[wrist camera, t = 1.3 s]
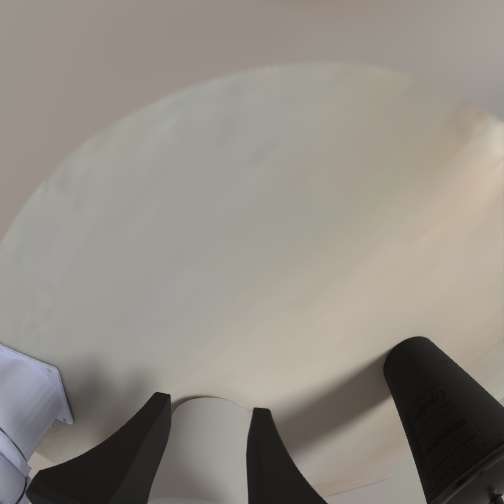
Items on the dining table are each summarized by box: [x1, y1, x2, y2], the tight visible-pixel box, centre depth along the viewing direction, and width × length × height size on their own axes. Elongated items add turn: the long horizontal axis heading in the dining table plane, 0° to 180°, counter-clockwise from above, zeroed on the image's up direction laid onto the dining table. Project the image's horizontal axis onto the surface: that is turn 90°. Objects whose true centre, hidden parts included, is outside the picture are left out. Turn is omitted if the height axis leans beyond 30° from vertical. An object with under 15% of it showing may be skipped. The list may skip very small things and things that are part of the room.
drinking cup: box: [384, 336, 504, 504], centre depth 12 cm, size 8×8×20 cm
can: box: [147, 397, 252, 504], centre depth 18 cm, size 8×8×12 cm
